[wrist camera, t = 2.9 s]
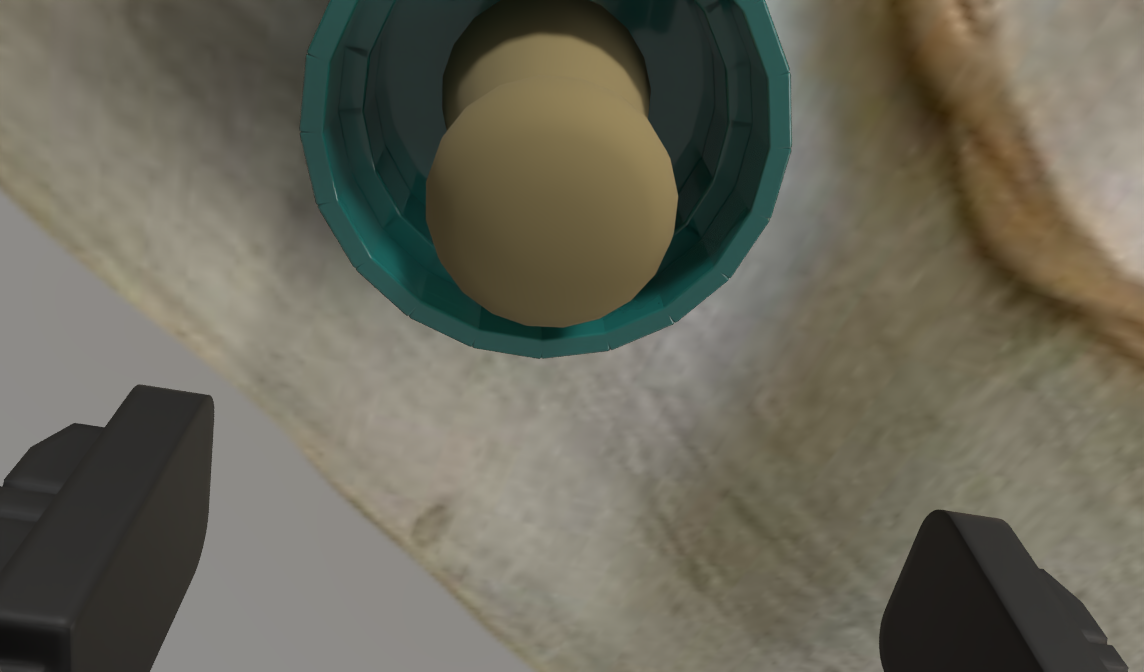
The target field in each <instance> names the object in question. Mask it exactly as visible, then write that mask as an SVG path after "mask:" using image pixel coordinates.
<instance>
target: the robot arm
mask: <svg viewBox="0 0 1144 672" xmlns="http://www.w3.org/2000/svg"><path fill="white" fill-rule="evenodd" d="M213 427H214V402H213V399H212V397H211V396H210V395H205V394H198V393H192V392H186V391H179V390H172V389H166V388H160V387H153V386H146V385H137V386H135V387H134V388H133V389H132V391H131V392H130V393H129V395H128V396H127V398H126V399H125V400H124V401H123V403H122V404H121V406H120V407H119V408H118V410H117V411H116V413H115V414H114V415H113V417H112V418H111V420H110V421H109V422H108V424H107V425H106V426H105V427H98V426H91V425H85V424H77V423H74V424H72V425H70V426H68V427H66V428H64V429H63V430H61V431H59V432H57V433H55V434H54V435H52V436H50V437H48V438H47V439H45V440H43V441H41V442H39V443H37V444H36V445H34V446H32V447H30V449H29V450H28V451H27V452H26V454H25V455H24V456H23V457H22V458H21V460H20V461H19V462H18V463H17V464H16V466H15V467H14V468H13V469H12V471H11V472H10V473H9V474H8V475H7V477H6V478H5V479H4V484H3V486H2V487H1V486H0V672H150V670H151V668H152V665H153V663H154V661H155V659H156V657H157V655H158V652H159V650H160V648H161V646H162V643H163V641H164V639H165V637H166V635H167V633H168V631H169V628H170V626H171V624H172V622H173V620H174V618H175V615H176V613H177V611H178V609H179V607H180V604H181V602H182V600H183V598H184V596H185V593H186V591H187V589H188V587H189V585H190V583H191V580H192V578H193V576H194V574H195V571H196V569H197V566H198V563H199V560H200V556H201V552H202V549H203V544H204V540H205V535H206V529H207V522H208V513H209V496H210V479H211V462H212V444H213ZM1107 639H1108V638H1107V637H1106V635H1105V634H1104V633H1103V631H1102V630H1101V628H1100V627H1099V626H1098V624H1097V623H1096V621H1095V620H1094V618H1093V617H1092V616H1091V614H1090V613H1089V611H1088V610H1087V609H1086V607H1085V606H1084V604H1083V603H1082V602H1081V601H1080V600H1079V599H1077V598H1076V597H1075V596H1074V595H1073V594H1072V593H1071V592H1069V591H1068V590H1067V589H1066V588H1065V587H1064V586H1062V585H1061V584H1060V583H1059V582H1058V581H1057V580H1055V579H1054V578H1053V577H1052V576H1051V575H1050V574H1048V573H1047V572H1046V571H1045V570H1044V569H1039V568H1038V567H1037V565H1036V564H1035V562H1034V561H1033V559H1032V558H1031V556H1030V555H1029V553H1028V552H1027V550H1026V549H1025V548H1024V546H1023V545H1022V543H1021V542H1020V540H1019V539H1018V537H1017V536H1016V534H1015V533H1014V531H1013V530H1012V528H1011V527H1010V526H1009V525H1008V524H1007V523H1006V522H1005V521H1004V520H1001V519H998V518H991V517H985V516H978V515H972V514H965V513H959V512H952V511H946V510H935V511H933V512H931V513H930V514H929V515H928V516H927V517H926V518H925V520H924V521H923V523H922V525H921V527H920V529H919V531H918V534H917V536H916V538H915V541H914V543H913V545H912V548H911V550H910V552H909V555H908V557H907V559H906V562H905V564H904V566H903V569H902V571H901V574H900V576H899V578H898V581H897V583H896V585H895V588H894V590H893V592H892V595H891V597H890V599H889V602H888V604H887V606H886V609H885V611H884V614H883V617H882V621H881V627H880V636H879V649H880V658H881V663H882V667H883V669H884V672H1128V666H1127V665H1126V664H1125V662H1124V661H1123V659H1122V658H1121V657H1120V655H1119V654H1118V652H1117V651H1116V650H1115V648H1114V647H1113V646H1112V645H1107Z"/></svg>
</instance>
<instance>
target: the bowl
mask: <svg viewBox="0 0 1144 672" xmlns="http://www.w3.org/2000/svg"><path fill="white" fill-rule="evenodd" d="M499 1H500V0H330V1H329V3H328V5H327V8H326V10H325V12H324V14H323V17H322V19H321V21H320V23H319V26H318V28H317V30H316V32H315V35H314V37H313V39H312V41H311V44H310V46H309V48H308V50H307V53H308V54H307V55H306V59H305V71H304V82H303V93H302V104H301V116H300V127H299V129H300V131H301V132H300V137H301V142H302V146H303V150H304V154H305V159H306V163H307V167H308V171H309V176H310V180H311V184H312V188H313V193H314V197H315V201H316V204H317V205H318V209H319V210H320V212H321V214H322V215H323V217H324V219H325V220H326V222H327V224H328V225H329V227H330V229H331V230H332V232H333V234H334V235H335V237H336V239H337V240H338V242H339V244H340V245H341V247H342V249H343V250H344V252H345V254H346V255H347V257H348V259H349V260H350V262H351V264H352V265H353V267H354V268H356V270H357V271H358V272H359V273H360V274H361V275H362V276H363V277H364V278H365V279H367V280H368V281H369V282H370V283H371V284H372V285H373V286H374V287H375V288H377V289H378V290H379V291H380V292H381V293H382V294H383V295H384V296H385V297H387V298H388V299H389V300H390V301H391V302H392V303H393V304H394V305H395V306H397V307H398V308H399V309H400V310H401V311H402V312H403V313H404V314H405V315H407V316H409V317H410V318H411V319H413V320H416V321H418V322H420V323H422V324H424V325H426V326H428V327H430V328H432V329H434V330H437V331H439V332H441V333H443V334H445V335H447V336H449V337H451V338H453V339H455V340H457V341H460V342H462V343H464V344H466V345H468V346H472V347H473V348H477V349H483V350H489V351H495V352H501V353H507V354H513V355H519V356H526V357H532V358H538V359H540V358H543V359H544V358H553V357H561V356H570V355H578V354H587V353H595V352H604V351H609V350H610V349H611V350H613V349H616V348H618V347H620V346H623V345H625V344H627V343H630V342H632V341H635V340H637V339H639V338H642V337H644V336H647V335H649V334H651V333H654V332H656V331H658V330H661V329H663V328H666V327H668V326H670V325H673V324H674V322H675V323H676V322H677V321H679V320H680V319H681V318H682V317H684V316H685V315H686V314H687V313H689V312H690V311H691V310H692V309H693V308H695V307H696V306H697V305H698V304H700V303H701V302H702V301H703V300H705V299H706V298H707V297H708V296H709V295H711V294H712V293H713V292H714V291H716V290H717V289H718V288H719V287H721V286H722V285H723V284H724V283H726V282H727V281H728V280H729V278H731V277H732V275H733V274H734V272H735V271H736V269H737V268H738V266H739V265H740V263H741V262H742V261H743V259H744V258H745V256H746V255H747V253H748V252H749V250H750V249H751V247H752V246H753V244H754V243H755V241H756V240H757V238H758V237H759V235H760V234H761V232H762V231H763V230H764V228H765V227H766V225H767V224H768V222H769V220H770V219H769V218H771V216H772V213H773V210H774V206H775V203H776V200H777V196H778V193H779V190H780V186H781V183H782V180H783V176H784V173H785V170H786V167H787V163H788V160H789V157H790V153H791V147H792V120H791V74H790V72H789V66H788V63H787V60H786V57H785V55H784V52H783V49H782V46H781V43H780V41H779V38H778V35H777V32H776V29H775V26H774V24H773V21H772V18H771V15H770V12H769V10H768V7H767V4H766V1H765V0H589V1H591V2H594V3H596V4H599V5H601V6H602V7H604V8H605V9H606V10H607V11H608V12H609V13H610V14H612V15H613V16H614V17H615V18H616V19H617V20H618V21H620V22H621V23H622V24H623V25H624V26H625V27H626V28H627V29H628V30H629V32H630V34H631V36H632V37H633V39H634V41H635V42H636V44H637V46H638V48H639V49H640V51H641V53H642V54H643V56H644V59H645V64H646V68H647V73H648V78H649V83H650V87H651V94H650V104H649V114H648V121H649V122H650V124H651V126H652V127H653V129H654V131H655V132H656V134H657V136H658V137H659V139H660V141H661V142H662V144H663V146H664V148H665V149H666V151H667V153H668V155H669V157H670V160H671V164H672V169H673V174H674V178H675V183H676V188H677V193H678V203H677V211H676V219H675V227H674V234H673V237H672V240H671V242H670V245H669V247H668V249H667V251H666V253H665V255H664V257H663V259H662V261H661V264H660V266H659V268H658V270H657V272H656V274H655V275H654V276H653V277H652V279H651V280H650V281H649V282H648V283H647V284H646V285H645V286H644V287H643V288H642V289H641V290H640V291H639V292H638V294H637V295H636V296H635V297H634V298H633V299H632V300H631V301H630V302H628V303H626V304H624V305H623V306H621V307H619V308H617V309H616V310H614V311H612V312H610V313H609V314H607V315H605V316H604V317H602V318H600V319H597V320H593V321H589V322H585V323H581V324H576V325H572V326H568V327H564V328H562V327H541V326H526V325H523V324H520V323H517V322H514V321H512V320H509V319H506V318H503V317H500V316H497V315H494V314H492V313H491V312H489V311H488V310H486V309H485V308H484V307H482V306H481V305H479V304H478V303H477V302H475V301H474V300H473V299H471V298H470V297H468V296H467V295H466V294H464V293H463V292H462V291H461V289H460V288H459V287H458V285H457V284H456V283H455V281H454V280H453V278H452V277H451V276H450V274H449V273H448V272H447V270H446V269H445V268H444V266H443V265H442V264H441V262H440V260H439V258H438V255H437V252H436V249H435V246H434V243H433V240H432V237H431V234H430V231H429V228H428V225H427V222H426V181H427V178H428V175H429V172H430V170H431V167H432V164H433V161H434V158H435V155H436V153H437V150H438V147H439V144H440V141H441V139H442V137H443V135H444V134H445V133H446V132H447V130H446V125H445V120H444V116H443V111H442V87H443V74H444V71H445V68H446V65H447V62H448V59H449V57H450V54H451V51H452V48H453V45H454V44H455V42H456V41H457V40H458V38H459V37H460V36H461V34H462V33H463V32H464V31H465V29H466V28H467V27H468V25H469V24H470V23H471V22H472V20H473V19H474V18H475V17H476V16H478V15H479V14H481V13H482V12H484V11H485V10H487V9H488V8H490V7H491V6H493V5H494V4H496V3H497V2H499Z"/></svg>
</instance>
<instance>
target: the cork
mask: <svg viewBox="0 0 1144 672" xmlns="http://www.w3.org/2000/svg"><path fill="white" fill-rule="evenodd" d="M650 94H651V87H650V83H649V78H648V73H647V68H646V64H645V59H644V56H643V54H642V53H641V51H640V49H639V48H638V46H637V44H636V42H635V41H634V39H633V37H632V36H631V34H630V32H629V30H628V29H627V28H626V27H625V26H624V25H623V24H622V23H621V22H620V21H618V20H617V19H616V18H615V17H614V16H613V15H612V14H610V13H609V12H608V11H607V10H606V9H605V8H604V7H602V6H601V5H599V4H596V3H594V2H591V1H589V0H500V1H499V2H497V3H496V4H494V5H493V6H491V7H490V8H488V9H487V10H485V11H484V12H482V13H481V14H479V15H478V16H476V17H475V18H474V19H473V20H472V22H471V23H470V24H469V25H468V27H467V28H466V29H465V31H464V32H463V33H462V34H461V36H460V37H459V38H458V40H457V41H456V42H455V44H454V45H453V48H452V51H451V54H450V57H449V59H448V62H447V65H446V68H445V71H444V74H443V87H442V111H443V116H444V120H445V125H446V130H447V132H446V133H445V134H444V135H443V137H442V139H441V141H440V144H439V147H438V150H437V153H436V155H435V158H434V161H433V164H432V167H431V170H430V172H429V175H428V178H427V181H426V222H427V225H428V228H429V231H430V234H431V237H432V240H433V243H434V246H435V249H436V252H437V255H438V258H439V260H440V262H441V264H442V265H443V266H444V268H445V269H446V270H447V272H448V273H449V274H450V276H451V277H452V278H453V280H454V281H455V283H456V284H457V285H458V287H459V288H460V289H461V291H462V292H463V293H464V294H466V295H467V296H468V297H470V298H471V299H473V300H474V301H475V302H477V303H478V304H479V305H481V306H482V307H484V308H485V309H486V310H488V311H489V312H491V313H492V314H494V315H497V316H500V317H503V318H506V319H509V320H512V321H514V322H517V323H520V324H523V325H526V326H541V327H562V328H564V327H568V326H572V325H576V324H581V323H585V322H589V321H593V320H597V319H600V318H602V317H604V316H605V315H607V314H609V313H610V312H612V311H614V310H616V309H617V308H619V307H621V306H623V305H624V304H626V303H628V302H630V301H631V300H632V299H633V298H634V297H635V296H636V295H637V294H638V292H639V291H640V290H641V289H642V288H643V287H644V286H645V285H646V284H647V283H648V282H649V281H650V280H651V279H652V277H653V276H654V275H655V274H656V272H657V270H658V268H659V266H660V264H661V261H662V259H663V257H664V255H665V253H666V251H667V249H668V247H669V245H670V242H671V240H672V237H673V234H674V227H675V219H676V211H677V203H678V193H677V188H676V183H675V178H674V174H673V169H672V164H671V160H670V157H669V155H668V153H667V151H666V149H665V148H664V146H663V144H662V142H661V141H660V139H659V137H658V136H657V134H656V132H655V131H654V129H653V127H652V126H651V124H650V122H649V121H648V114H649V104H650Z"/></svg>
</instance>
